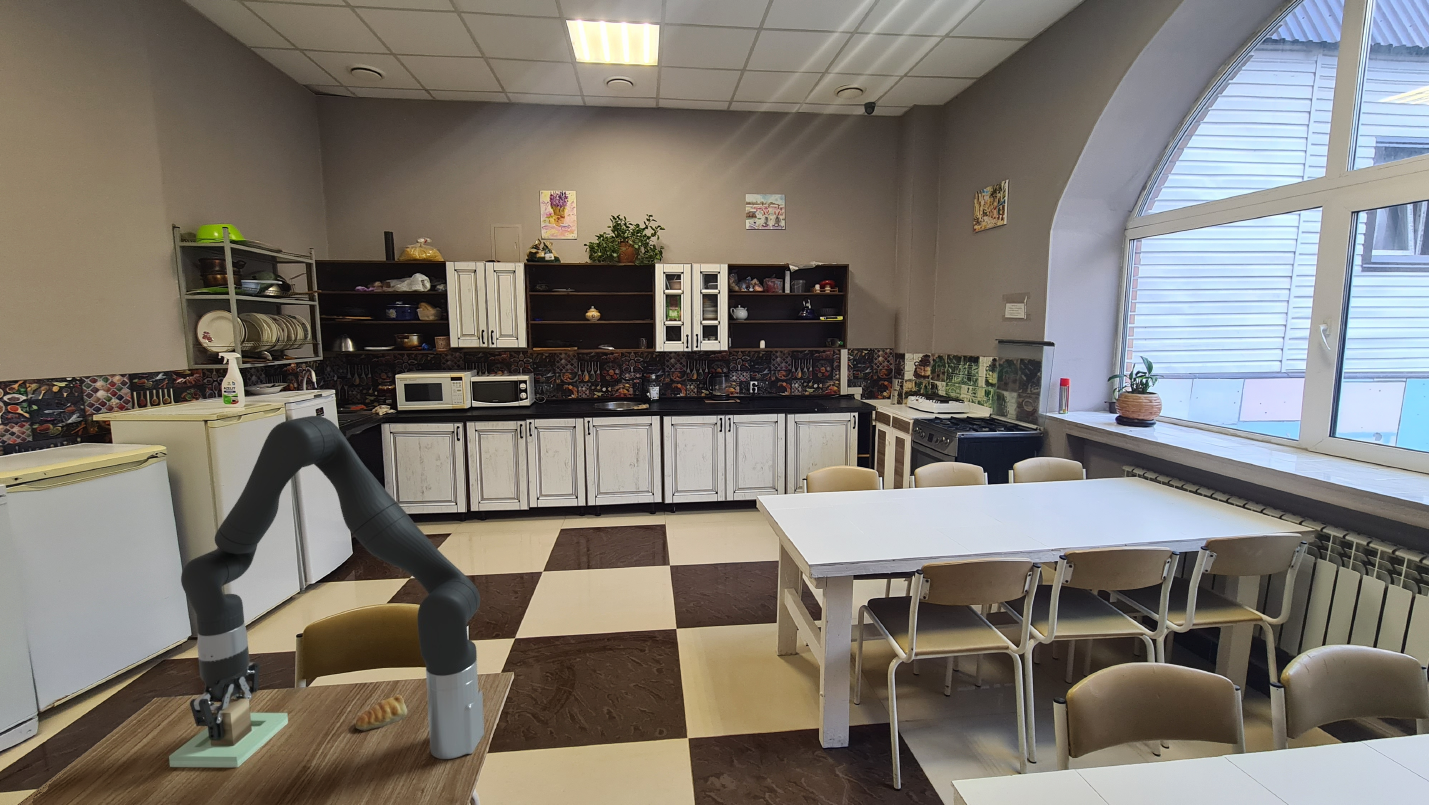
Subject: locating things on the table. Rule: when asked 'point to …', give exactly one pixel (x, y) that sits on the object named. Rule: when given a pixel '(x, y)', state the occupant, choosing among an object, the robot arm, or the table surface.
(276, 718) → the plate
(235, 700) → the wooden block
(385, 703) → the pastry
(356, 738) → the table surface
